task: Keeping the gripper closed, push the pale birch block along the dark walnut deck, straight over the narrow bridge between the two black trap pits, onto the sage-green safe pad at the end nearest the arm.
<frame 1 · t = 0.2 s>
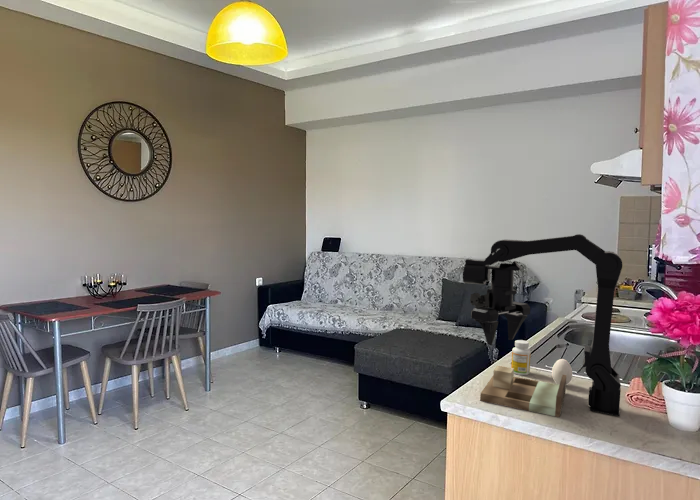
hand: (500, 342, 130), 13 cm above the counter, tool pointing down, fingers open, 9 cm apart
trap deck: (523, 396, 127), on the counter
supplement bottle: (520, 373, 146), on the counter
egg: (561, 385, 136), on the counter
birch block: (503, 385, 129), point 2 cm above the counter, touching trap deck
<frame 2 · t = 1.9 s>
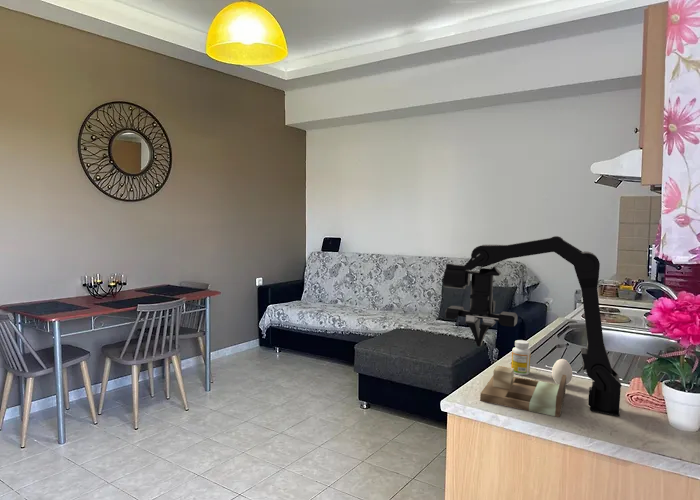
hand: (479, 346, 132), 12 cm above the counter, tool pointing down, fingers closed
nothing on the counter moved.
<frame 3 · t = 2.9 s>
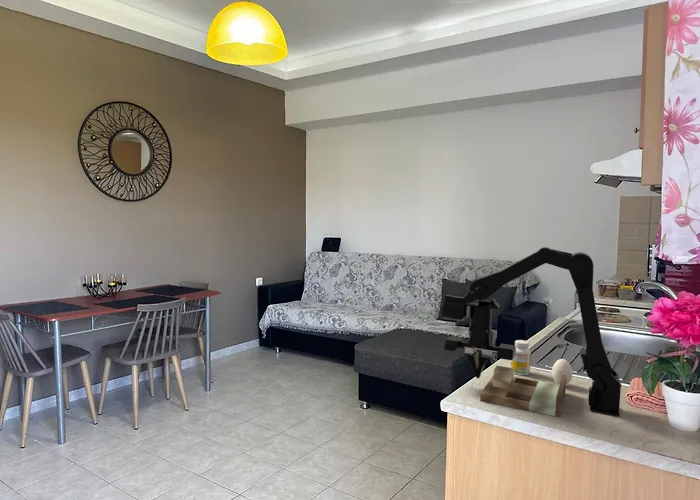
hand: (477, 377, 132), 3 cm above the counter, tool pointing down, fingers closed
nothing on the counter moved.
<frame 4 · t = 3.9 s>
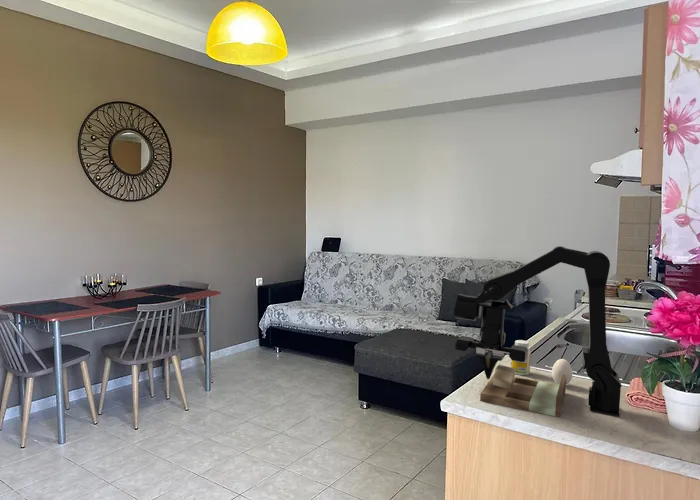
hand: (488, 378, 131), 3 cm above the counter, tool pointing down, fingers closed
birch block: (503, 384, 129), point 2 cm above the counter, tilted 5°, touching gripper, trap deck
everything else where it was.
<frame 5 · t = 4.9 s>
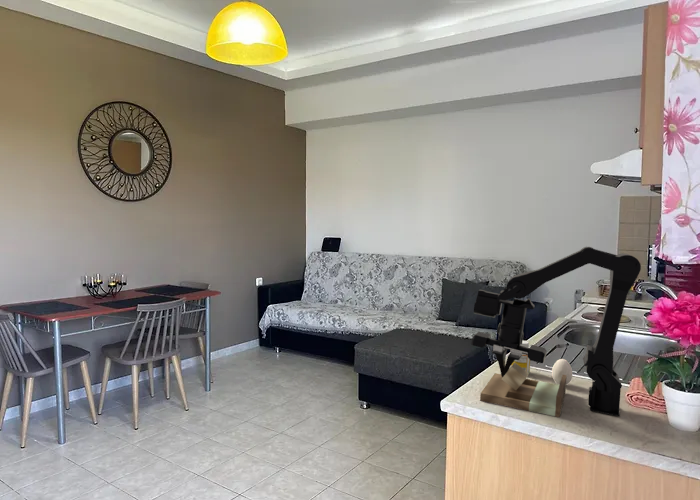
hand: (503, 376, 129), 4 cm above the counter, tool pointing down, fingers closed, pressing on birch block
birch block: (510, 382, 128), point 3 cm above the counter, tilted 32°, touching gripper
everything else where it was.
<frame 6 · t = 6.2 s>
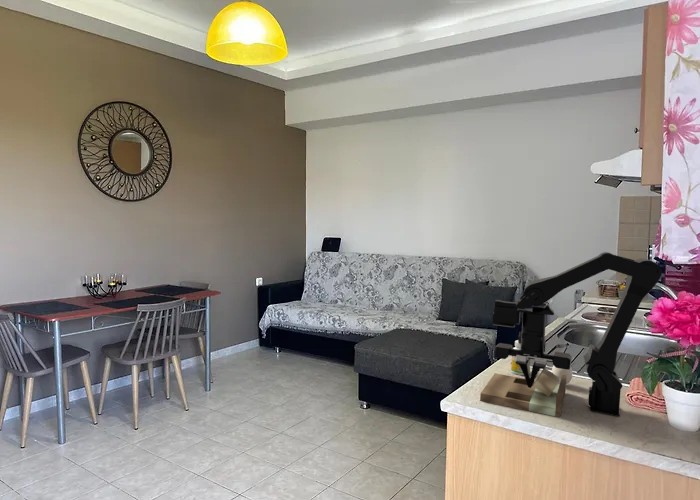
hand: (529, 387, 126), 3 cm above the counter, tool pointing down, fingers closed
birch block: (541, 388, 124), point 3 cm above the counter, tilted 27°, touching gripper, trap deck
everything else where it was.
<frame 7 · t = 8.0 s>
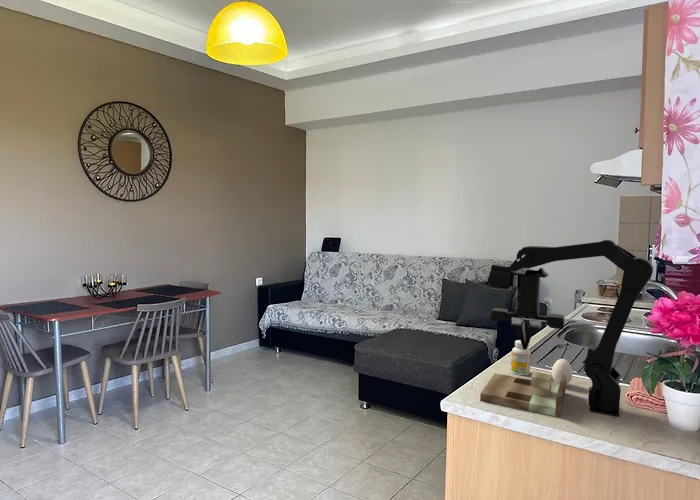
hand: (525, 348, 129), 12 cm above the counter, tool pointing down, fingers closed
birch block: (540, 392, 125), point 2 cm above the counter, touching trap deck
everything else where it was.
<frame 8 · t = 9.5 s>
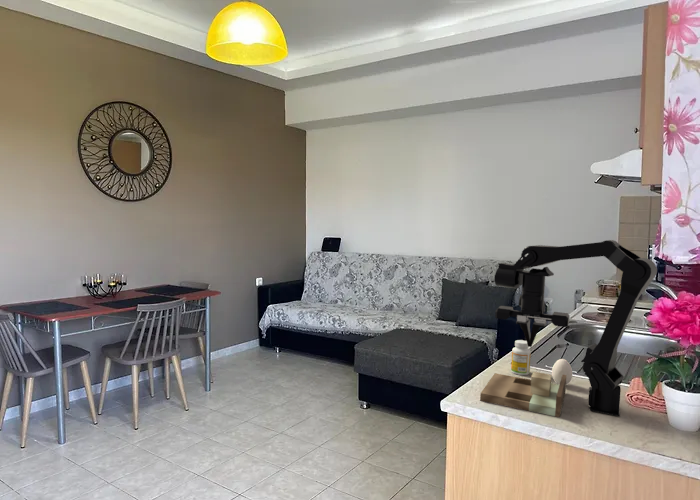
hand: (530, 346, 132), 12 cm above the counter, tool pointing down, fingers closed
nothing on the counter moved.
at the end: birch block 0.9 cm from the target spot, point 2.0 cm above the counter; birch block tilted 0° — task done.
